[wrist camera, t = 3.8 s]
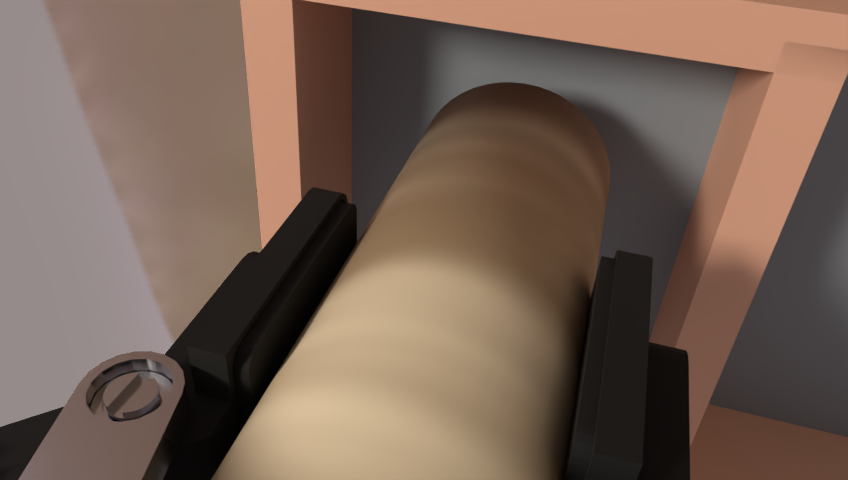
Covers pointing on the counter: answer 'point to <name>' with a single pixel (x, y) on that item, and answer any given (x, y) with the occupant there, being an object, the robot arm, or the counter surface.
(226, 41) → the counter surface
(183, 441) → the robot arm
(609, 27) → the track
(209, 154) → the counter surface
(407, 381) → the peg
